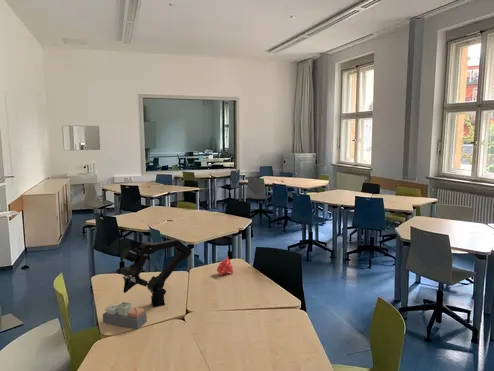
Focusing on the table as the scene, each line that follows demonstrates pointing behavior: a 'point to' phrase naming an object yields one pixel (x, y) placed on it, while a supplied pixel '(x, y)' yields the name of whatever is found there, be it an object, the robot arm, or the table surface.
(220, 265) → the anatomical heart
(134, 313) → the key three dots
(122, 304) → the key two dots
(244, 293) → the table surface
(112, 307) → the key one dot
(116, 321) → the key console
